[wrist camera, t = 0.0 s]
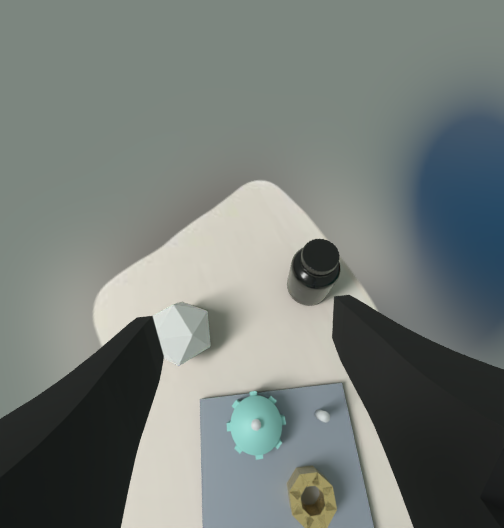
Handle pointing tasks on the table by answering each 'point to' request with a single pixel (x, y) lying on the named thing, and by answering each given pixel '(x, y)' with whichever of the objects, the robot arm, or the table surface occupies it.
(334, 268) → the supplement bottle
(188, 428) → the table surface
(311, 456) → the gear board
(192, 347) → the die
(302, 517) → the yellow faceted ring
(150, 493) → the table surface
